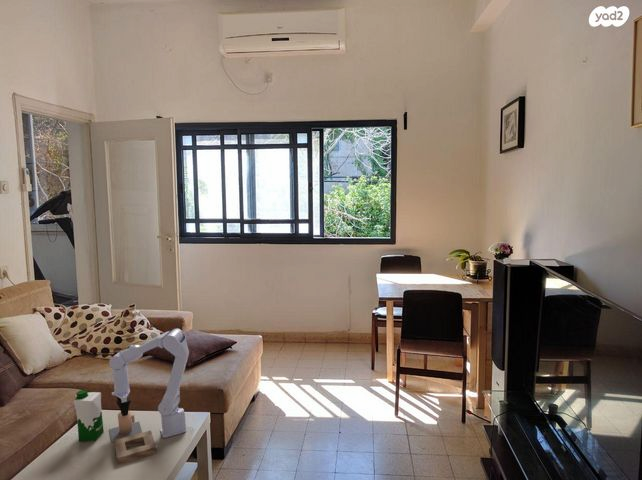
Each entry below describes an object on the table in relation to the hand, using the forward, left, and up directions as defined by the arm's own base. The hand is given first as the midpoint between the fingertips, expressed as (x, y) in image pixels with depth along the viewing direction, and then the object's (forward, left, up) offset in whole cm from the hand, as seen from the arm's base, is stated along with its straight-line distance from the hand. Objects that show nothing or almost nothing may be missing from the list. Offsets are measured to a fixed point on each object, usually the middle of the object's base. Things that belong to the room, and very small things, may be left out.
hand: (124, 411), depth 191 cm
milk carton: (+13, -4, -10) cm, 17 cm away
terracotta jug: (0, 0, -9) cm, 9 cm away
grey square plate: (0, 0, -9) cm, 9 cm away
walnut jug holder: (-2, +16, -9) cm, 19 cm away
